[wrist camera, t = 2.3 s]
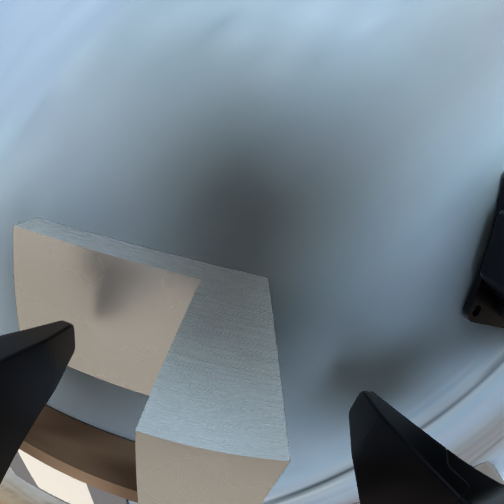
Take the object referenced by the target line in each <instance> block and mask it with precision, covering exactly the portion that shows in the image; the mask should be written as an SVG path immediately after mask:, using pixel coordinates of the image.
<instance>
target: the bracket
mask: <svg viewBox="0 0 504 504" xmlns="http://www.w3.org/2000/svg"><path fill="white" fill-rule="evenodd" d="M13 264H14V284H15V297H16V307H17V316H18V324H19V331H22V330H25V329H29V328H33V327H37V326H41V325H45V324H49V323H53V322H56V321H60V320H64V321H66V322H69V323H71V324H73V326H74V330H75V351H74V354H73V356H72V358H71V359H70V361H69V363H68V365H67V366H69V367H71V368H74V369H76V370H78V371H81V372H83V373H86V374H88V375H91V376H93V377H96V378H98V379H101V380H104V381H106V382H109V383H112V384H115V385H118V386H120V387H123V388H126V389H129V390H132V391H135V392H138V393H141V394H145V395H148V396H149V398H148V400H147V403H146V405H145V408H144V410H143V412H142V415H141V417H140V420H139V422H138V425H137V427H136V430H135V452H136V478H137V494H138V504H261V503H262V501H263V500H264V499H265V497H266V496H267V494H268V493H269V492H270V490H271V489H272V487H273V486H274V484H275V483H276V482H277V480H278V479H279V477H280V476H281V474H282V473H283V471H284V470H285V468H286V467H287V465H288V464H289V462H290V455H289V446H288V437H287V428H286V420H285V411H284V402H283V394H282V385H281V377H280V369H279V360H278V352H277V344H276V336H275V328H274V320H273V312H272V304H271V297H270V289H269V281H268V278H266V277H262V276H258V275H254V274H249V273H245V272H241V271H237V270H233V269H229V268H225V267H221V266H217V265H213V264H209V263H205V262H201V261H197V260H193V259H189V258H185V257H181V256H177V255H173V254H169V253H165V252H162V251H158V250H154V249H150V248H146V247H142V246H139V245H135V244H131V243H127V242H124V241H120V240H116V239H112V238H109V237H105V236H101V235H98V234H94V233H90V232H87V231H83V230H79V229H76V228H72V227H69V226H65V225H61V224H58V223H54V222H51V221H47V220H44V219H40V218H35V219H32V220H29V221H25V222H22V223H19V224H16V225H14V227H13Z"/></svg>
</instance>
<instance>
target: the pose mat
mask: <svg viewBox="0 0 504 504" xmlns="http://www.w3.org/2000/svg"><path fill="white" fill-rule="evenodd" d="M10 467H11V468H12V470H13V471H14V473H15V475H17V476H18V477H20V478H22V479H23V480H25V481H26V482H28V483H30V484H31V485H33V486H35V487H37V488H38V489H40V490H42V491H44V492H46V493H48V494H49V495H51V496H53V497H55V498H57V499H59V500H61V501H63V502H65V503H67V504H128V499H125V498H122V497H119V496H116V495H113V494H111V493H108V492H105V491H103V490H100V489H98V488H95V487H93V486H90V485H88V484H86V483H83V482H81V481H79V480H77V479H74V478H72V477H70V476H68V475H66V474H64V473H62V472H60V471H58V470H56V469H54V468H52V467H50V466H48V465H46V464H44V463H43V462H41V461H39V460H37V459H35V458H34V457H32V456H30V455H28V454H27V453H25V452H23V451H22V450H20V449H19V450H18V452H17V454H16V455H15V457H14V459H13V461H12V463H11V465H10Z"/></svg>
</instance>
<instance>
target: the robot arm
mask: <svg viewBox="0 0 504 504" xmlns="http://www.w3.org/2000/svg"><path fill="white" fill-rule="evenodd" d="M474 308H475V309H474ZM473 310H474V311H473ZM463 314H464V316H465V317H466V318H467V319H468V320H470V321H471V322H475V323H480V324H485V325H491V326H496V327H501V328H504V179H503V184H502V189H501V194H500V198H499V203H498V207H497V211H496V215H495V219H494V223H493V226H492V230H491V233H490V237H489V240H488V243H487V247H486V250H485V253H484V256H483V259H482V262H481V265H480V267H479V270H478V273H477V276H476V278H475V281H474V284H473V286H472V289H471V291H470V294H469V296H468V298H467V301H466V303H465V306H464V309H463ZM74 351H75V330H74V326H73V324H71V323H69V322H66V321H64V320H60V321H56V322H53V323H49V324H45V325H41V326H37V327H33V328H29V329H25V330H22V331H18V332H14V333H10V334H6V335H2V336H0V484H1V482H2V480H3V478H4V476H5V474H6V472H7V470H8V468H9V466H10V465H11V463H12V461H13V459H14V457H15V455H16V454H17V452H18V450H19V448H20V446H21V445H22V443H23V441H24V439H25V438H26V436H27V434H28V433H29V431H30V429H31V428H32V426H33V424H34V423H35V421H36V419H37V418H38V416H39V414H40V413H41V411H42V410H43V408H44V406H45V405H46V403H47V402H48V400H49V398H50V397H51V395H52V394H53V392H54V390H55V389H56V387H57V385H58V383H59V381H60V379H61V377H62V375H63V373H64V371H65V369H66V367H67V365H68V363H69V361H70V359H71V358H72V356H73V354H74ZM349 425H350V438H351V451H352V459H353V465H354V470H355V476H356V482H357V488H358V494H359V500H360V504H504V484H501V483H499V482H497V481H496V480H494V479H492V478H490V477H489V476H487V475H485V474H484V473H482V472H480V471H479V470H477V469H475V468H474V467H472V466H471V465H469V464H467V463H466V462H464V461H463V460H462V459H460V458H459V457H457V456H456V455H455V454H453V453H452V452H451V451H449V450H448V449H447V450H446V448H445V447H444V446H442V445H441V444H440V443H438V442H437V441H436V440H434V439H433V438H432V437H430V436H429V435H428V434H427V433H425V432H424V431H423V430H421V429H420V428H419V427H417V426H416V425H415V424H414V423H412V422H411V421H410V420H408V419H407V418H406V417H405V416H403V415H402V414H401V413H399V412H398V411H397V410H396V409H394V408H393V407H392V406H390V405H389V404H388V403H387V402H385V401H384V400H383V399H382V398H380V397H379V396H378V395H377V394H375V393H374V392H368V391H362V392H361V393H360V394H359V395H358V397H357V399H356V400H355V402H354V404H353V405H352V407H351V409H350V411H349Z"/></svg>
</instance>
